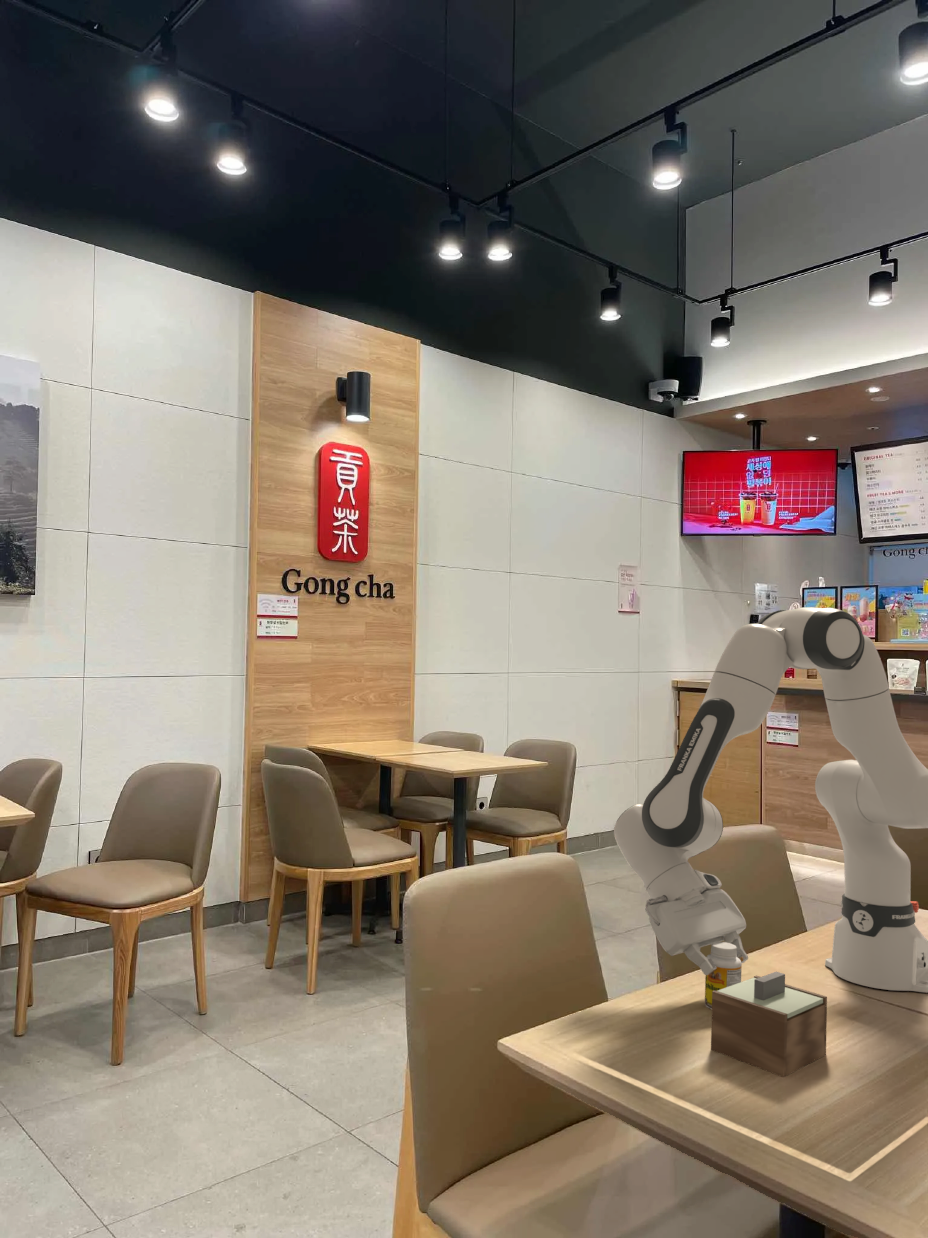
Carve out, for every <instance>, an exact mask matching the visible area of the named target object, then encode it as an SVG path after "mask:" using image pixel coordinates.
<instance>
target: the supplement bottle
mask: <svg viewBox="0 0 928 1238" xmlns="http://www.w3.org/2000/svg"><path fill="white" fill-rule="evenodd" d="M710 946H711V947H710V954H708V955H707V956H705V957H706V958H707V959H712V961H713V962H714V964H715V965H716V968H717V969H716V971H714V972H713V973H712V974H709V975H705V978H704V979H705V980H704V981H705V983H704V986H705V987H704V1006H705V1007H706V1008H708V1009H709V1010H710V1009H711V1010H712V991H718V990H721V989H724V988H726V987H729V986H732V985H735V984H737V983H740V982H742V967H743V966H742V965H743V963H741V960H740V959H739V958H737V947H736V946H735V945H733V944H730V943H726V942H725V941H720V942H714V943H712V944H710Z"/></svg>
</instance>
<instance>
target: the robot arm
mask: <svg viewBox="0 0 928 1238" xmlns="http://www.w3.org/2000/svg"><path fill="white" fill-rule="evenodd" d="M789 668H790V669H791V668H792V669H795V670H810V669H816V671H817V672H818V673H819V676H820V678H821V683H822V689H823V694H824V699H825V704H826V707H827V708H826V709H827V713H828V718H829V723H830V726H831V731H832V734H833V736H834V739H835V740H836V741H837V742H838V743H839V744H840V745H841V746H842V747H844V748H845V749H846V750H847V751H848V752H849V753H850V754H851V755H852V756H853V758H854V759H845V760H843V759H842V760H837V761H830V762H827V763H826V764H824V765H823V766H822V767H821V768H820V770H818V773H817V776H816V778H815V781H814V782H815V783H814V789H815V794H816V798H817V800H818V801H819V803H820V805H821V806H822V807H823V808H824V809H825V810H826V811H827V813H828V814H829V816H830V817H831V819H832V821H833V823H834V825H835V828H836V830H837V833H838V836H839V839H840V842H841V846H842V847H841V848H842V851H843V852H842V853H843V864H844V867H843V869H844V893H843V894H841V895H842V896H841V902H840V907H841V912H840V913H841V915H842V917H841V919H839V920H837V921H836V922H835V923H834V929H833V939H832V940H833V941H832V950H831V951H832V952H831V953H832V954H831V957H829V958H826V959H825V960H824V965H825V966H826V967H828V968H829V969H831V970H832V971H833V974H835V976H838V977H839V978H841V979H843V980H845V981H848V982H849V983H853V984H857V985H860V986H864V987H869V988H874V989H881V990H888V991H898V992H899V991H907V992H909V991H910V992H919V993H928V939H927V938H926V936H924V934H923V933H922V932H921V931H920V930H919V928H918V927H917V926H916V925H915V924H916V916H915V914H917V913H918V912H919V909H920V906H919V904H920V903H919V901H917V900H916V901H911V888H912V886H911V884H912V883H911V881H912V878H911V876H912V875H911V872H912V870H911V868H912V867H911V866H912V864H911V860H910V858H909V856H908V854H907V853H906V852H905V851H903V849H902V848H901V847H900V846H899V845H898V844H897V843H896V842H895V839H894V838H893V836H892V834H891V831H890V828H889V826H891V827H895V828H901V829H904V830H905V829H906V830H908V829H910V830H911V829H913V830H915V829H917V830H919V829H928V768H927V767H926V766H925V765H924V764H923V763H922V762H921V761H920V759H918V757H917V756H916V754H915V753H914V751H913V750H912V748H911V747H910V746H909V744H908V742H907V740H906V739H905V737H904V735H903V733H902V731H901V729H900V726H899V723H898V720H897V717H896V716H897V715H896V712H895V707H894V704H893V699H892V696H891V691H890V686H889V682H888V679H887V675H886V671H885V668H884V665H883V661H882V660H881V656H880V654H879V652H878V650H877V647H876V645H875V643H874V642H873V640H872V639H871V638H870V637H869V636H868V635H865V634H864V633H863V630H862V629H861V626H860V624H859V623H858V621H857V620H856V618H855V617H854V616H852V614H850V613H849V612H847V611H844V610H841V609H838V608H834V607H824V608H822V607H813V606H812V607H797V608H795V609H794V608H793V609H788V610H785V609H780V610H776V611H773V612H770V613H768V614H766V615H764V616H763V617H762V618H760V619H759V620H758V621H757V622H756V623H748V624H744V625H742V626H740V627H739V628H738V629H737V630H736V631H734V634H733V635H732V637H731V638H730V640H729V642H728V643H727V645H726V647H725V649H724V650H723V653H722V655H721V656H720V658H719V660H718V662H717V663H716V666H715V670H714V672H713V674H712V677H711V679H710V681H709V685H708V688H707V690H706V692H705V694H704V697H703V700H702V702H701V705H700V706H699V708H698V710H697V712H696V714H695V716H694V718H693V720H692V721H691V723H690V725H689V727H688V728H687V730H686V733H685V736H684V737H683V739H682V742H681V744H680V746H679V748H678V750H677V752H676V754H675V756H674V758H673V761H672V763H671V764H670V767H669V768H668V771H667V772H666V774H665V775H664V777H663V778H662V780H661V781H659V783H658V784H656V786H654V787H653V789H652V790H650V792H649V793H648V795H647V796H646V798H645V800H644V802H643V804H642V803H637V804H634V805H632V806H630V807H629V808H627V809H626V810H624V812H622V813H621V814H620V815H619V817H618V818H617V820H616V821H615V824H614V828H613V836H614V838H615V841H616V844H617V846H618V848H619V850H620V852H621V854H622V856H623V858H624V859H625V861H626V862H627V864H628V866H629V867H630V869H631V870H632V872H634V873H635V874H636V875H637V877H639V879H640V880H641V881H642V884H643V888H644V890H645V891H646V893H647V895H648V897H649V898H648V899H647V900H646V902H645V912H646V914H647V916H648V920H649V924H650V926H651V929H652V931H653V933H654V935H655V936H656V939H657V940H658V942H659V944H660V945H661V947H662V949H663V950H664V951H665V952H666V953H667V954H668V955H670V956H671V957H673V956H675V955H679V954H680V955H681V954H683V953H684V954H685V956H686V957H687V959H688V960H689V961H691V963H694V964H695V965H696V966H697V967H699V969H700V970H701V971H702V974H703V975H704V976H706V975H709V974H712V973H713V972H714V971H716V969H717V968H716V965H715V964H714V962H713V961H712V959H707V958H706V957H707V956H705V954H704V953H702V952H701V950H702V949H701V948H703V947H706V946H709V945H710V946H711V944H712V943H714V942H726V943H730V944H733V945H735V946H736V947H737V958H739V959H740V960H741V963H742V964H744V963H746V962H747V961H748V960H749V956H748V954H747V953H746V951H745V950H744V947H743V946H744V945H743V943H742V942H743V941H742V938H741V936H740V934H741V933H742V932H743V931H745V930H746V928H747V922H746V919H745V917H744V915H743V914H742V912H741V911H740V909H739V908H738V906H737V905H736V903H735V902H734V901H733V899H732V898H731V896H730V895H729V894H728V892H726V891H725V890H723V889H721V887H722V885H723V884H722V881H721V880H720V879H719V878H718V876H716V875H714V874H711V873H706V872H702V871H700V870H698V869H694V868H693V867H692V865H691V864H690V862H689V861H688V860H689V859H690V858H694V857H695V856H697V855H700V854H701V853H705V851H707V850H710V849H711V848H713V847H714V846H715V845H716V844H717V843H718V842H719V841H720V839H721V837H722V835H723V832H724V821H723V816H722V814H721V811H720V810H719V808H718V807H716V805H715V804H714V803H712V802H711V801H709V800H707V799H706V798H705V797H704V791H705V788H706V787H707V784H708V781H709V779H710V777H711V775H712V773H713V771H714V769H715V766H716V764H717V762H718V761H719V758H720V755H721V753H722V751H723V750H724V748H725V747H726V746H727V745H728V744H729V742H731V741H732V740H734V739H736V738H737V737H739V736H744V735H747V734H751V733H753V732H754V731H756V730H758V729H759V728H760V726H761V725H762V723H763V722H764V721H765V718H766V717H767V716H768V714H769V712H770V709H772V705H773V703H774V700H775V698H776V695H777V693H778V689H779V686H780V683H781V680H782V677H783V676H784V674H785V672H786V671H787V670H789Z"/></svg>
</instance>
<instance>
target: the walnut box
mask: <svg viewBox="0 0 928 1238" xmlns="http://www.w3.org/2000/svg"><path fill="white" fill-rule="evenodd" d="M760 977H761V976H759V975H755V976H753V978H760ZM785 987H786V988H790V989H793V990H796V991H800V992H803V993H806V994H810V995H813V996H816V997H819V998H823V1003H822V1004H819V1005H817V1006H815V1007H813V1008H810V1009H808V1010H806V1011H804V1012H801V1013H799V1014H797V1015H794V1016H792V1017H790V1018H788V1019H787V1014H786V1013H783V1012H780V1011H777V1010H774V1009H771V1008H768V1007H764V1006H761V1005H758V1004H755V1003H752V1002H749V1001H746V1000H743V999H740V998H737V997H734V996H731V995H728V994H724V993H721V992H718V991H712V1009H711V1023H710V1024H711V1026H710V1027H711V1029H710V1030H711V1031H710V1033H711V1034H710V1036H711V1037H710V1050H711V1051H714V1052H717V1053H718V1054H721V1055H724V1056H727V1057H730V1058H732V1059H734V1060H737V1061H740V1062H742V1063H744V1064H748V1065H750V1066H752V1067H755V1068H758V1069H761V1070H763V1071H765V1072H768V1073H771V1074H774V1075H776V1076H779V1077H782V1078H785V1077H786V1076H789V1075H790V1074H793V1073H795V1072H796V1071H798V1070H800V1069H802V1068H803V1067H806V1066H808V1065H809V1064H812V1063H813V1062H816V1061H817V1060H819V1059H821V1058H823V1057H825V1056H827V1025H828V1023H827V1019H828V1018H827V1016H828V1014H827V1013H828V1011H827V1010H828V1008H827V1007H828V1004H827V1003H828V995H827V996H826V995H824V994H820V993H817V992H813V991H809V990H807V989H803V988H799V987H796V986H794V985H793V986H792V985H789V984H787V983H785Z"/></svg>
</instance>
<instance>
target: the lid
mask: <svg viewBox="0 0 928 1238" xmlns="http://www.w3.org/2000/svg"><path fill="white" fill-rule="evenodd" d="M785 984H786V973H783V972H779V971H774V972H770V973H768V974H766V975H763V976H760V978H754V977H751V978H748V979H746V980H743V981H741V982H740V983H737V984H735V985H732V986H729V987H726V988H724V989H721V990H718V992H721V993H724V994H728V995H731V996H734V997H737V998H740V999H743V1000H746V1001H749V1002H752V1003H755V1004H758V1005H761V1006H764V1007H768V1008H771V1009H774V1010H777V1011H780V1012H783V1013H786V1014H787V1019H788V1018H790V1017H792V1016H794V1015H797V1014H799V1013H801V1012H804V1011H806V1010H808V1009H810V1008H813V1007H815V1006H817V1005H819V1004H822V1003H823V998H819V997H816V996H813V995H810V994H806V993H803V992H800V991H796V990H793V989H790V988H786V987H785Z"/></svg>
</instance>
